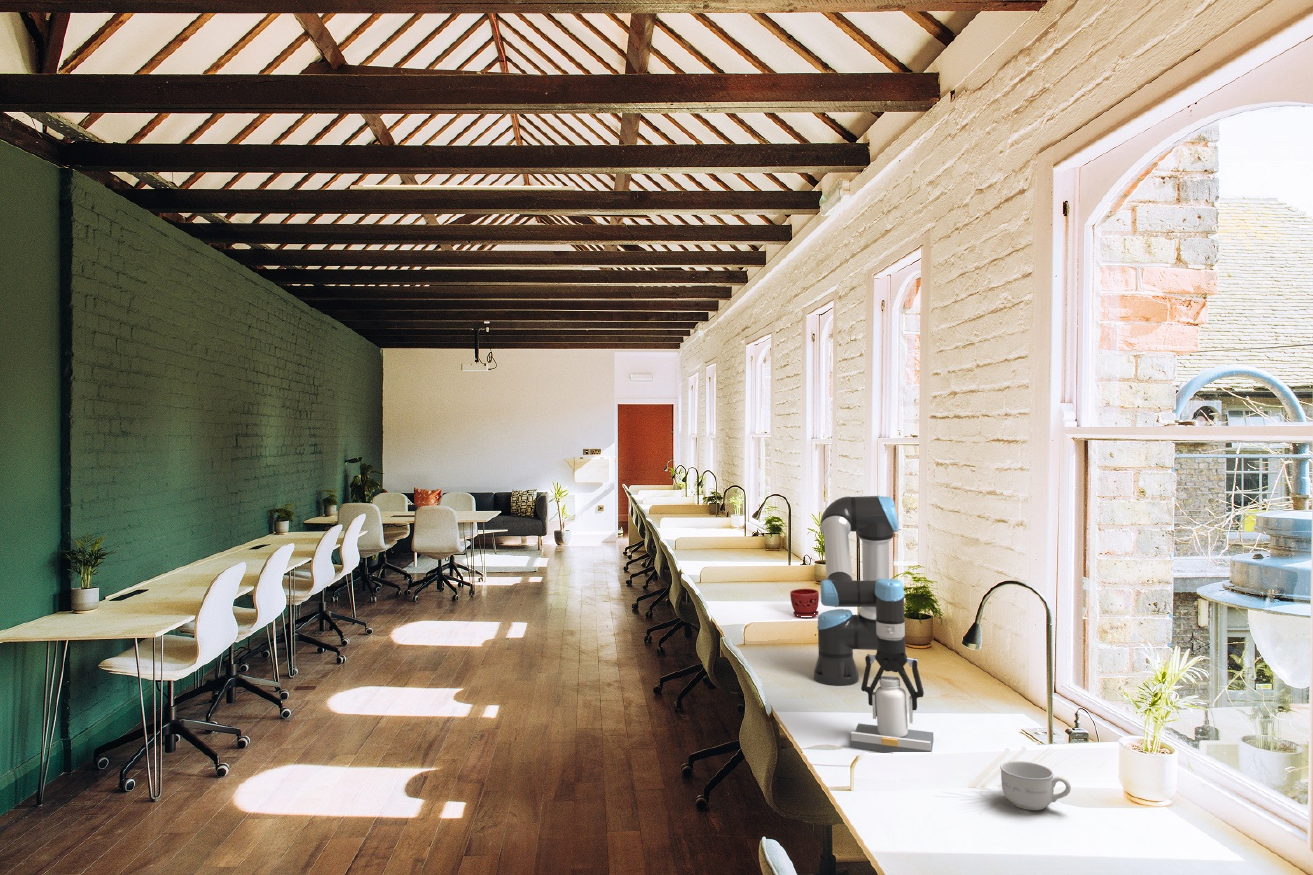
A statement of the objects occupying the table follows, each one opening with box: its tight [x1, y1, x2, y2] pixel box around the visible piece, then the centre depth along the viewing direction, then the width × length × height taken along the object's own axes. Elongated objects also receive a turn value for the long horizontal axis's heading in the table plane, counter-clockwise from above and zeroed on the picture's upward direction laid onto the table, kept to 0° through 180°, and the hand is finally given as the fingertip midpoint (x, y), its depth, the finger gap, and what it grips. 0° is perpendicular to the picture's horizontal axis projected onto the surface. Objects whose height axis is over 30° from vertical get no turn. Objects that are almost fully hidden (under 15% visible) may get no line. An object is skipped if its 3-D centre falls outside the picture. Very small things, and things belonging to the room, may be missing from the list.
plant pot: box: [789, 588, 820, 619], centre depth 353 cm, size 13×13×12 cm
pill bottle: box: [875, 674, 909, 738], centre depth 205 cm, size 8×8×15 cm
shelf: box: [850, 722, 934, 753], centre depth 203 cm, size 14×20×4 cm
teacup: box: [999, 760, 1072, 811], centre depth 167 cm, size 14×11×8 cm
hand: (893, 719), depth 205 cm, fingers open, 9 cm apart
